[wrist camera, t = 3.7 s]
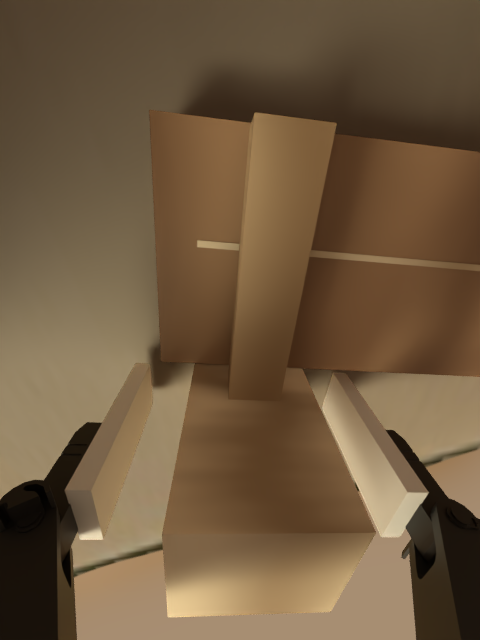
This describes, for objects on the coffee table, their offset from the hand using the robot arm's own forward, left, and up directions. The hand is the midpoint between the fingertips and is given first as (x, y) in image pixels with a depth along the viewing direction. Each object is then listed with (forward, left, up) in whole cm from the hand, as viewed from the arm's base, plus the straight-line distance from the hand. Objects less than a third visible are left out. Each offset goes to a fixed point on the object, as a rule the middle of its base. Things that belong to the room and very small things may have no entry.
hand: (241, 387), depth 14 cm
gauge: (0, +5, -1) cm, 5 cm away
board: (+8, +7, -1) cm, 11 cm away
